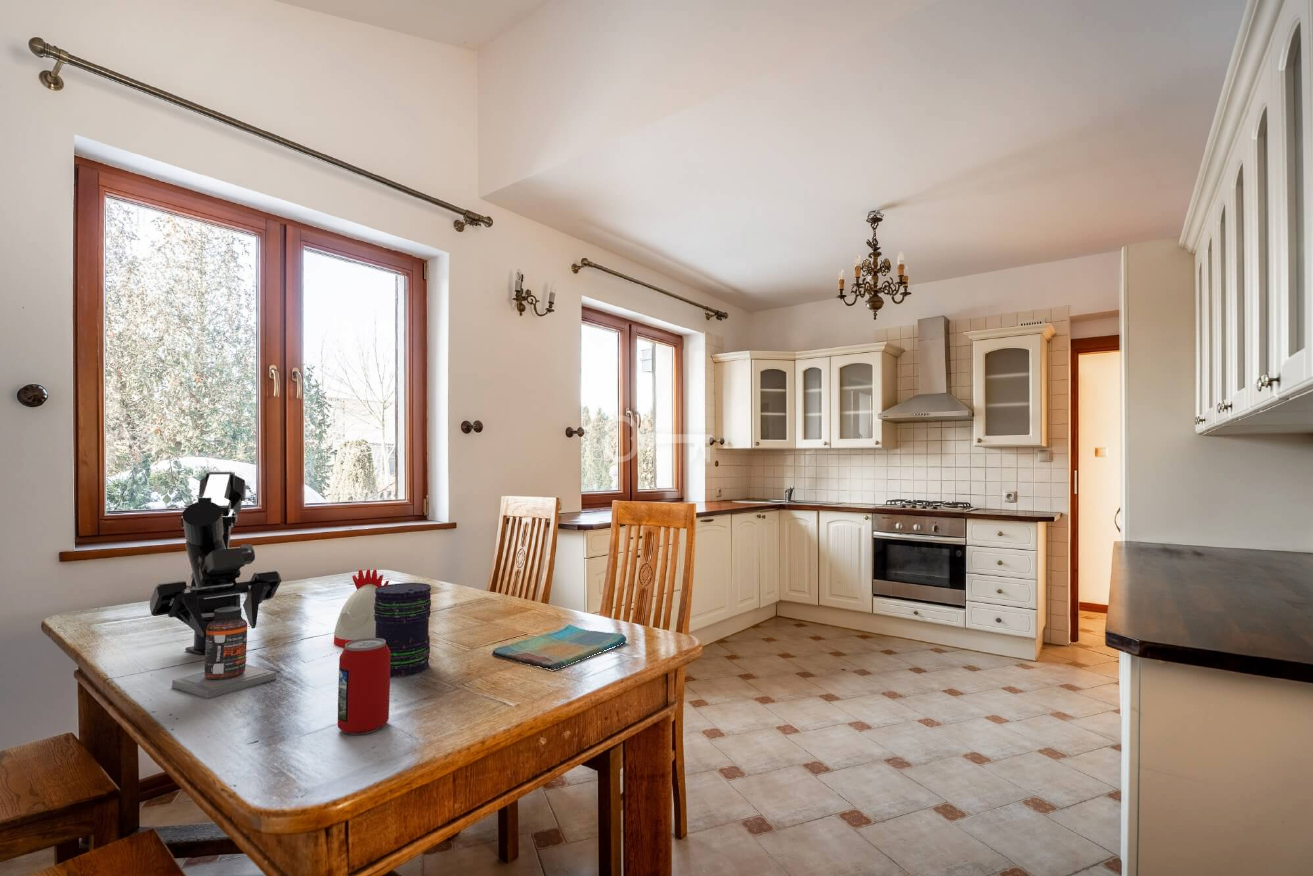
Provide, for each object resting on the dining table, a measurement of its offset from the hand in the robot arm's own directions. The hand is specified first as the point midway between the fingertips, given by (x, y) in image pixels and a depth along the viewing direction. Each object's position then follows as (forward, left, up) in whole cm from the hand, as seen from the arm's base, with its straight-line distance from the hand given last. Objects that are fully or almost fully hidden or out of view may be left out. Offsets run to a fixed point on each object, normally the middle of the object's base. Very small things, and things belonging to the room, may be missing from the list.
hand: (230, 631), depth 110 cm
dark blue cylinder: (+19, +20, -9) cm, 29 cm away
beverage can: (+36, -1, -9) cm, 37 cm away
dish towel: (+37, +45, -10) cm, 59 cm away
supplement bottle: (-1, 0, -8) cm, 8 cm away
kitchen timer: (-4, +31, -9) cm, 33 cm away
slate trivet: (-1, 0, -9) cm, 9 cm away
